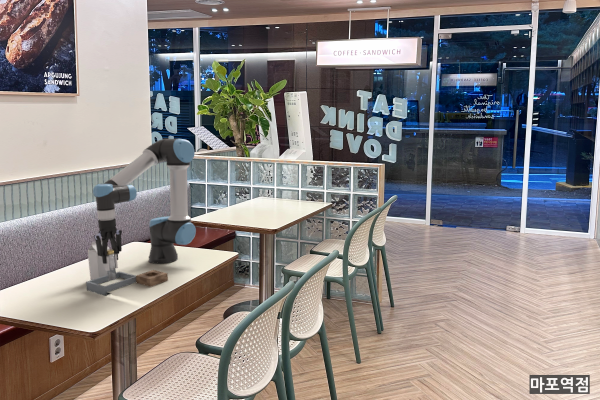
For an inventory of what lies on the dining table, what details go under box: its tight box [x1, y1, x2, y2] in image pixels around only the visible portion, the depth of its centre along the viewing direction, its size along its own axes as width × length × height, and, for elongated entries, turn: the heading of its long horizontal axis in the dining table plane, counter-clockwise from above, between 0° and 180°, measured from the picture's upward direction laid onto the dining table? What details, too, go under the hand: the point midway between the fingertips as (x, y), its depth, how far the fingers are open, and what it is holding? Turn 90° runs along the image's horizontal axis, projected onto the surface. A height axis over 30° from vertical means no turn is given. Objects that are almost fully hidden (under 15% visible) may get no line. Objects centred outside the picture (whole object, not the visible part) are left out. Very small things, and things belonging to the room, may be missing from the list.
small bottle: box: [107, 248, 117, 281], centre depth 248 cm, size 4×4×14 cm
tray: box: [85, 270, 137, 297], centre depth 249 cm, size 18×14×4 cm
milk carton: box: [87, 239, 110, 281], centre depth 260 cm, size 7×7×19 cm
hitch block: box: [135, 269, 169, 288], centre depth 251 cm, size 10×10×5 cm
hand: (111, 268), depth 248 cm, fingers closed on small bottle, 3 cm apart
